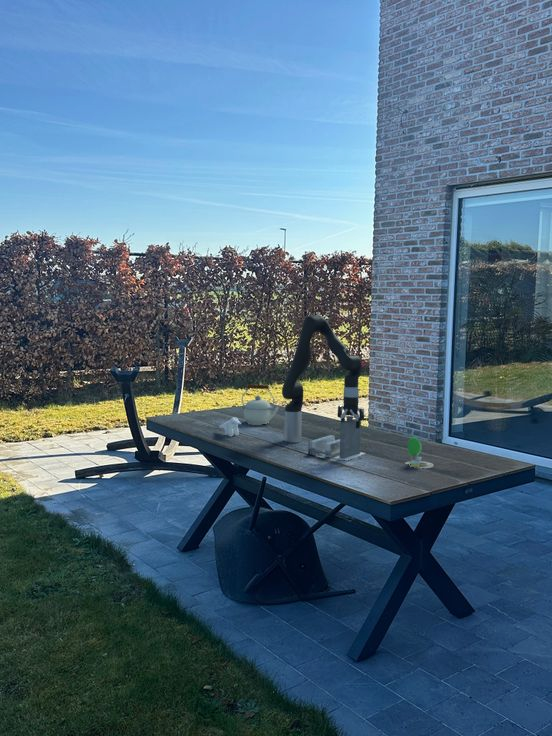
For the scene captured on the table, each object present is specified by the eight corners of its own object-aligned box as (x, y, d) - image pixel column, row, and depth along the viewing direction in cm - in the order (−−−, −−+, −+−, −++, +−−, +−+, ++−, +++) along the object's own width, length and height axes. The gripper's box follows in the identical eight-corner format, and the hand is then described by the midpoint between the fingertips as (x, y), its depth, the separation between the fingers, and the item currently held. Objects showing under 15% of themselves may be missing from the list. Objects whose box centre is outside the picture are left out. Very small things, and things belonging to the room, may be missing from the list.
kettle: (236, 424, 397) (236, 385, 394) (246, 419, 414) (246, 382, 412) (274, 427, 390) (274, 387, 387) (282, 421, 407) (283, 383, 404)
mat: (333, 458, 314) (333, 457, 314) (352, 451, 328) (352, 450, 328) (347, 461, 309) (347, 460, 309) (365, 454, 324) (365, 453, 324)
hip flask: (343, 458, 312) (344, 419, 310) (336, 457, 315) (337, 418, 312) (361, 453, 324) (362, 414, 321) (355, 451, 326) (355, 413, 324)
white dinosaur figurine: (237, 438, 355) (235, 418, 355) (214, 435, 374) (212, 416, 374) (246, 436, 360) (245, 417, 359) (223, 433, 378) (222, 415, 378)
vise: (307, 454, 322) (307, 441, 322) (328, 447, 338) (328, 434, 337) (329, 458, 314) (329, 445, 313) (349, 451, 329) (350, 438, 329)
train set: (422, 442, 292) (398, 437, 303) (421, 470, 294) (397, 464, 304) (441, 438, 302) (417, 433, 313) (440, 465, 304) (416, 459, 314)
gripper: (335, 395, 317) (334, 426, 319) (359, 397, 308) (358, 430, 310) (342, 393, 323) (342, 424, 325) (367, 396, 314) (366, 427, 316)
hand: (350, 427), depth 317 cm, fingers open, 8 cm apart
